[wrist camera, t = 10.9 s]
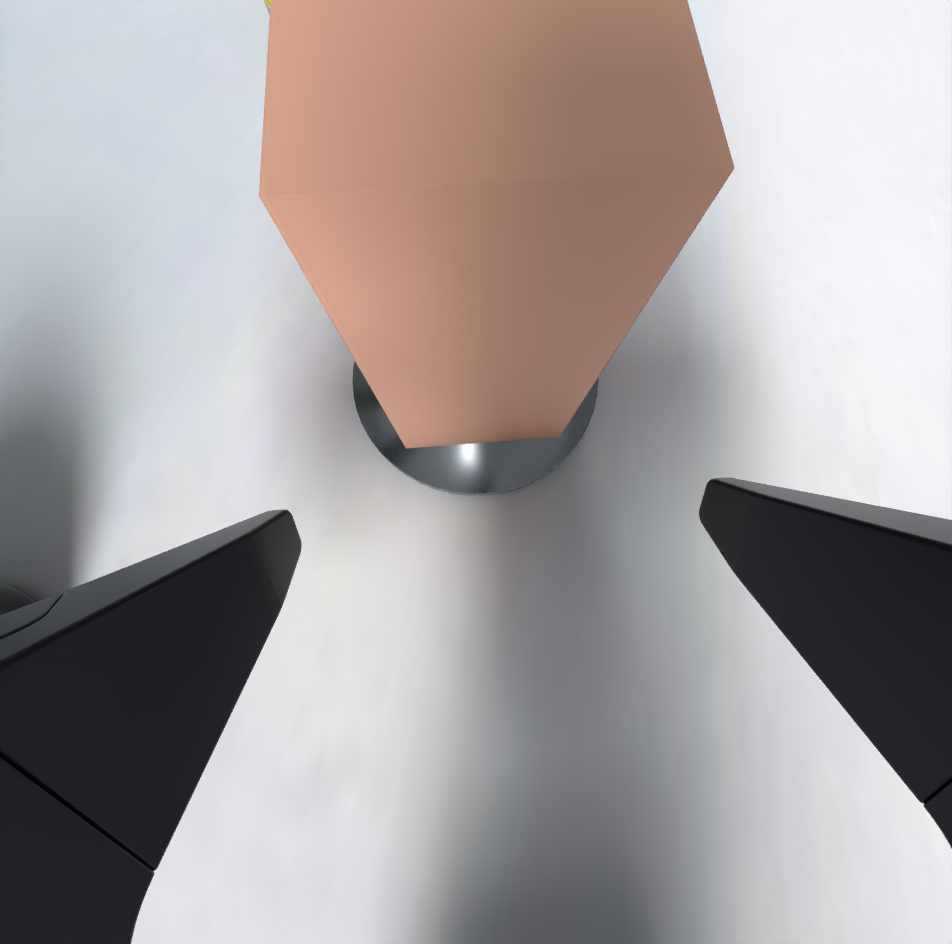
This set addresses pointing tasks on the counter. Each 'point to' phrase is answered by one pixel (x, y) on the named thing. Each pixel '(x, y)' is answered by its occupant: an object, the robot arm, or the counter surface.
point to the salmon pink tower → (486, 191)
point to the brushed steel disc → (470, 451)
